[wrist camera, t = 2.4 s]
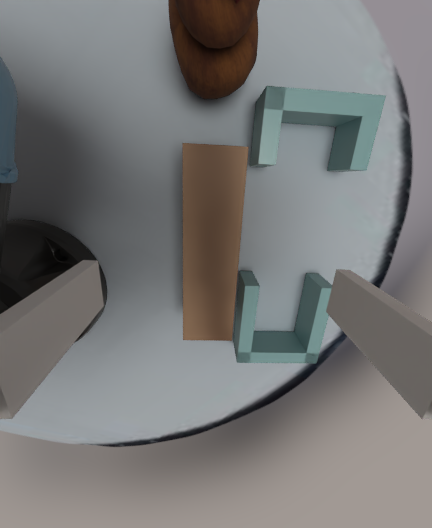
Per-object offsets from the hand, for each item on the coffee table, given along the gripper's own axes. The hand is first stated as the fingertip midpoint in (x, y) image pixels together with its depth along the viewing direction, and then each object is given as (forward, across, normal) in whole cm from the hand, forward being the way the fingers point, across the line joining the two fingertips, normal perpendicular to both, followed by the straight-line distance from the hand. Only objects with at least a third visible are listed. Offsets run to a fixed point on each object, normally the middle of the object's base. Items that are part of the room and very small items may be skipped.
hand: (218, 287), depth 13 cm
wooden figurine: (+14, -1, +15) cm, 20 cm away
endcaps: (+14, +8, -1) cm, 16 cm away
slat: (+14, 0, -1) cm, 14 cm away
